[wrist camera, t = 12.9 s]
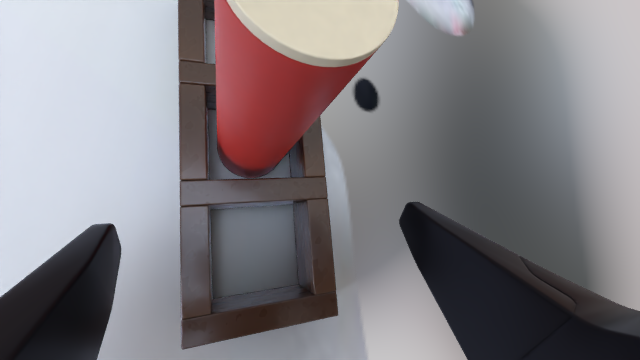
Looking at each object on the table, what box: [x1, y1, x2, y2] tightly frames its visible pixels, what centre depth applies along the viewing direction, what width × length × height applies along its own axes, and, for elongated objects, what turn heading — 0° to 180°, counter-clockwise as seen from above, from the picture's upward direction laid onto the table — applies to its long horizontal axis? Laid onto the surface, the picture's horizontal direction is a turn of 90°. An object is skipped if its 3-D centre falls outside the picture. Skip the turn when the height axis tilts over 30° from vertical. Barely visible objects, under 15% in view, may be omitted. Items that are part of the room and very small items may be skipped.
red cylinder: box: [214, 0, 398, 178], centre depth 11 cm, size 4×4×12 cm
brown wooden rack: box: [178, 0, 338, 349], centre depth 16 cm, size 19×7×3 cm, turn 4°
